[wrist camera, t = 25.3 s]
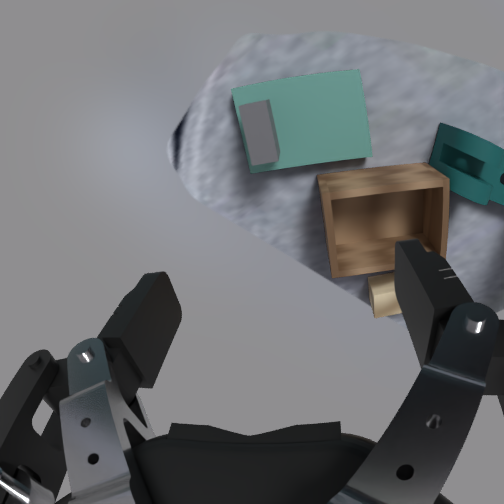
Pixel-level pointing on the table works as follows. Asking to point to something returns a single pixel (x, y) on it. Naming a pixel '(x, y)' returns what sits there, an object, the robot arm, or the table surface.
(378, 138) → the table surface
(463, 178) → the bracket
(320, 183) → the open wooden box
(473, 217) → the table surface
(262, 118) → the lid
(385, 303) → the pale wooden block
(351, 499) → the robot arm
